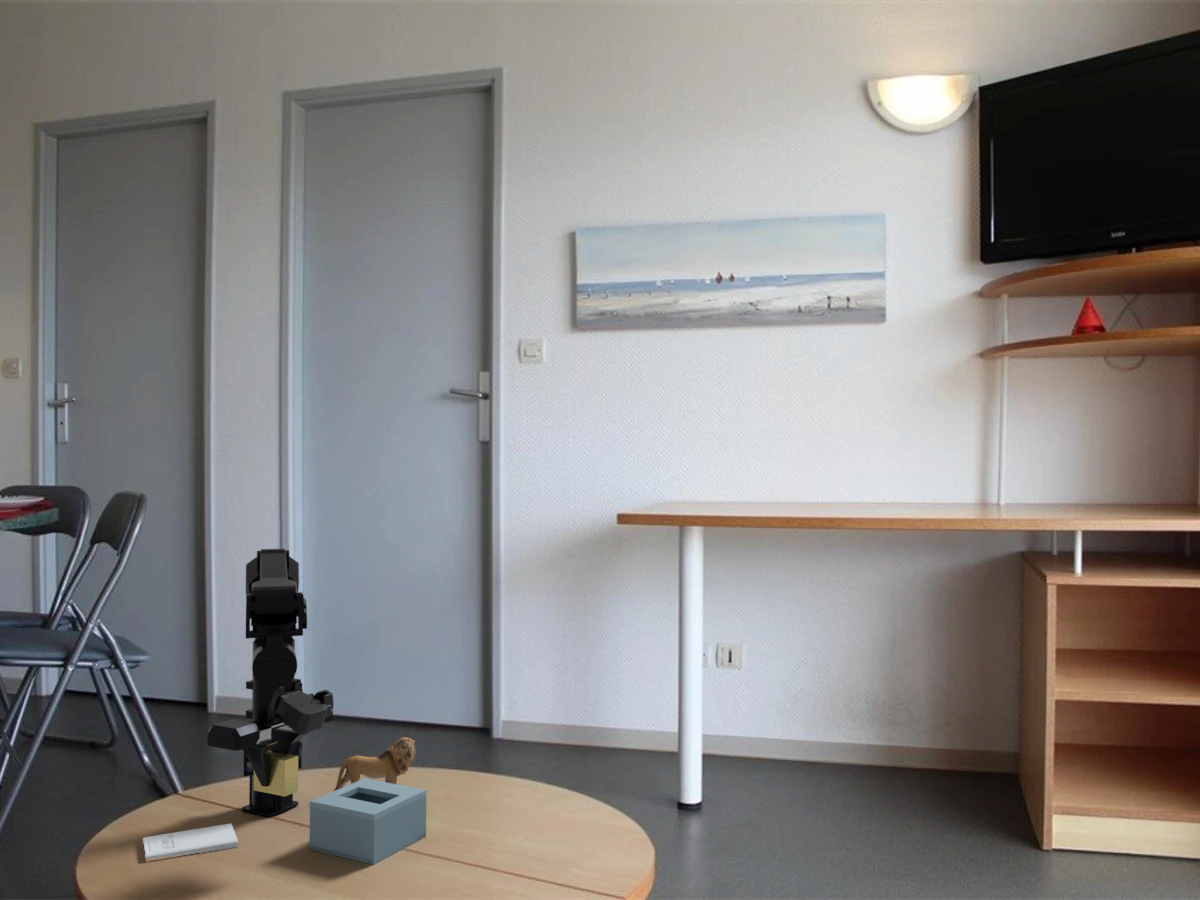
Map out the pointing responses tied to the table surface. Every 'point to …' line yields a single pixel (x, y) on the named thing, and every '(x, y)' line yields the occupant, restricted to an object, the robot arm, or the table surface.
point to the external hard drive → (190, 841)
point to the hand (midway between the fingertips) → (272, 783)
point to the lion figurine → (379, 764)
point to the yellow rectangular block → (281, 775)
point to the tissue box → (367, 820)
